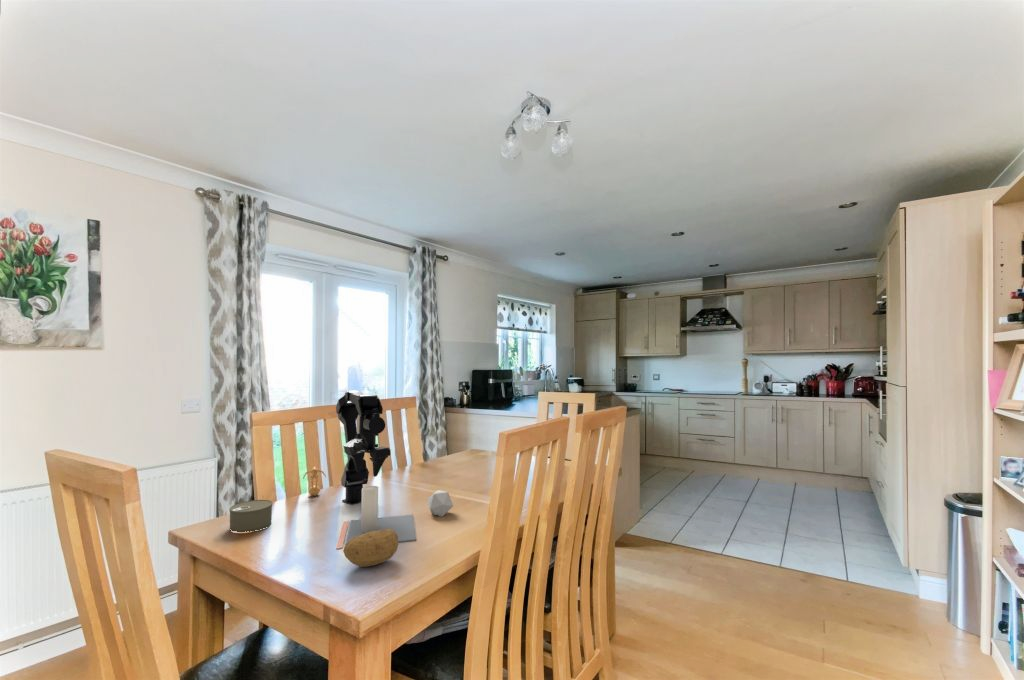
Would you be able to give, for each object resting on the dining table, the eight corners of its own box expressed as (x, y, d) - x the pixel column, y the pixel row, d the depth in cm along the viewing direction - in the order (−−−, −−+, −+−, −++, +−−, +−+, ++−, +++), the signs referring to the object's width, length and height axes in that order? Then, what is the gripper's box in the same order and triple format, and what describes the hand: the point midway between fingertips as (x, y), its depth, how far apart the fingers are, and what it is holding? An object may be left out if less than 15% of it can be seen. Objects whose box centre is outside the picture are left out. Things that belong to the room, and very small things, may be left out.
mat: (344, 548, 127) (344, 546, 127) (351, 521, 148) (351, 520, 148) (416, 540, 132) (416, 539, 132) (412, 515, 153) (412, 514, 153)
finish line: (342, 548, 127) (342, 547, 127) (336, 549, 126) (336, 548, 126) (348, 521, 148) (348, 520, 148) (343, 522, 147) (343, 521, 147)
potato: (339, 564, 117) (339, 533, 118) (392, 551, 125) (392, 522, 125) (348, 579, 109) (348, 546, 109) (403, 564, 117) (404, 533, 117)
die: (457, 515, 155) (453, 488, 161) (447, 510, 148) (443, 482, 154) (436, 523, 156) (432, 496, 162) (425, 518, 149) (422, 490, 155)
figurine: (325, 493, 180) (326, 462, 180) (325, 497, 174) (325, 466, 175) (303, 495, 177) (303, 464, 177) (301, 499, 171) (302, 468, 172)
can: (279, 525, 145) (279, 503, 145) (240, 537, 135) (240, 514, 135) (260, 517, 152) (261, 497, 152) (221, 529, 142) (222, 507, 142)
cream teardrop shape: (357, 532, 137) (358, 489, 138) (366, 526, 142) (366, 485, 143) (373, 533, 136) (373, 490, 137) (380, 527, 141) (381, 486, 142)
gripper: (331, 430, 157) (330, 475, 157) (365, 435, 147) (364, 483, 146) (358, 426, 166) (357, 469, 166) (391, 431, 156) (391, 476, 155)
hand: (366, 474), depth 158 cm, fingers open, 9 cm apart
